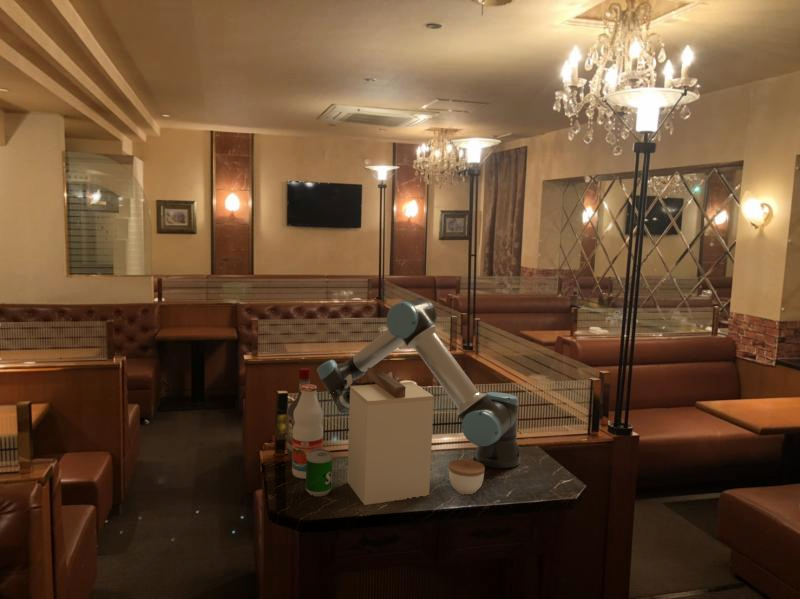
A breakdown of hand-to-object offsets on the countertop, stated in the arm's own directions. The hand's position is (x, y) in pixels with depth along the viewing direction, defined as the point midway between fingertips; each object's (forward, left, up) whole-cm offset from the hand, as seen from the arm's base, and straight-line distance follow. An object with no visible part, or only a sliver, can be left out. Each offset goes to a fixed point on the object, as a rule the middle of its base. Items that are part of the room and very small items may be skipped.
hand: (371, 377), depth 195 cm
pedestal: (-1, +16, -30) cm, 34 cm away
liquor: (+17, -16, -30) cm, 39 cm away
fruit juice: (+19, -2, -30) cm, 36 cm away
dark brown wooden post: (-1, +11, 0) cm, 11 cm away
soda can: (+19, +12, -30) cm, 38 cm away
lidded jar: (-23, +24, -30) cm, 45 cm away
